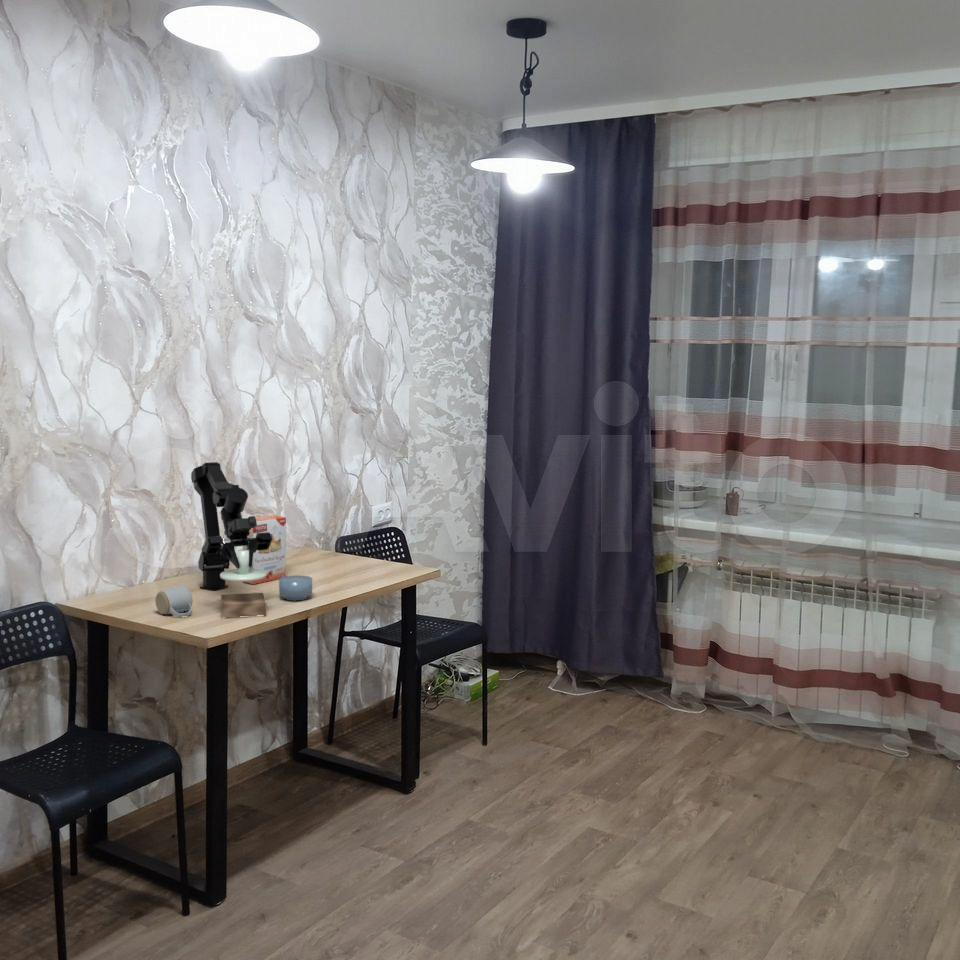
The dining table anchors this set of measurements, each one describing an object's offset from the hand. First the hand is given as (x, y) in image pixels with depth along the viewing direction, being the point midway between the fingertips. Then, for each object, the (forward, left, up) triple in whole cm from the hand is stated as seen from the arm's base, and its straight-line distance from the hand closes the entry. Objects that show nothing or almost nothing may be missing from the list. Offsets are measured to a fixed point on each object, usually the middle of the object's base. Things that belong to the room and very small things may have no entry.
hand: (244, 567), depth 281 cm
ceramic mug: (-16, -11, -14) cm, 24 cm away
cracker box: (-23, +35, -14) cm, 44 cm away
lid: (-1, +1, -3) cm, 3 cm away
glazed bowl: (+1, +22, -13) cm, 25 cm away
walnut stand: (-1, +1, -13) cm, 13 cm away
